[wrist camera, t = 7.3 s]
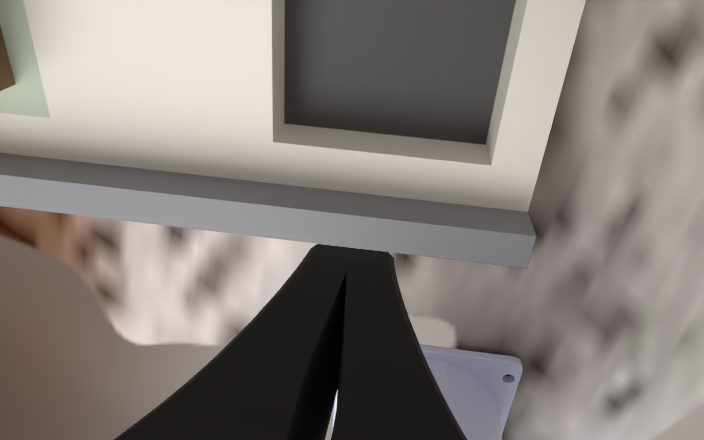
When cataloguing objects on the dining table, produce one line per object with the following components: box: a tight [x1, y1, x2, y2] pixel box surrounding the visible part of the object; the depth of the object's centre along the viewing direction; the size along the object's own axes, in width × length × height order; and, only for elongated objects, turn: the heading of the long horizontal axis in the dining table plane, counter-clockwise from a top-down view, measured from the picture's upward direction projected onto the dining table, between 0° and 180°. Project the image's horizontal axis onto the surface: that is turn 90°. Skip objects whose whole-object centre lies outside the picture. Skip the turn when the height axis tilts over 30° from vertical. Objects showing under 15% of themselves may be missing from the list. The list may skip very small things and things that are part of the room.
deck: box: [0, 0, 586, 268], centre depth 16 cm, size 14×24×4 cm, turn 86°
